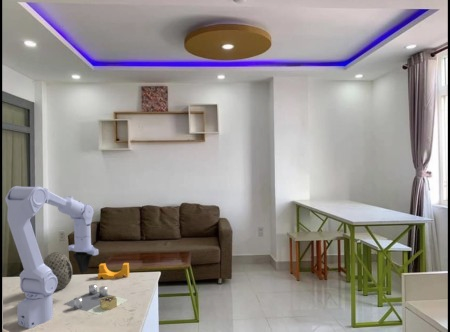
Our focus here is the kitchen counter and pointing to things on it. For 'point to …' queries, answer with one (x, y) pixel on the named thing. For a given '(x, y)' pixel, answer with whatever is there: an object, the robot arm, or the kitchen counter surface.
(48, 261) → the decorative egg
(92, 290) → the cylinder
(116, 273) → the pipe clamp
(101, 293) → the cylinder
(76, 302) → the cylinder
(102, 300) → the brass nut
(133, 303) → the kitchen counter surface
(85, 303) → the board
